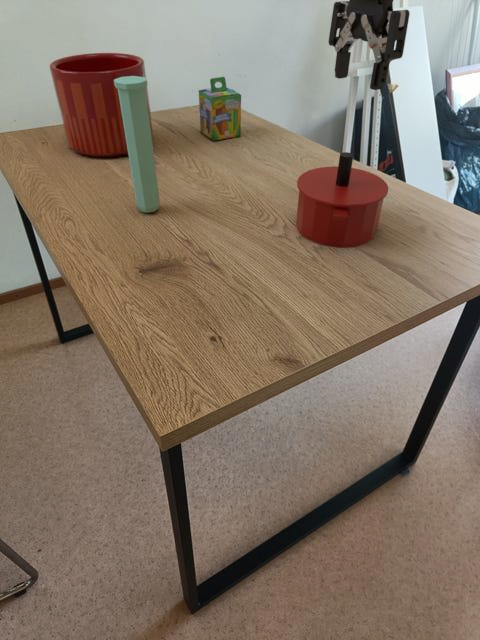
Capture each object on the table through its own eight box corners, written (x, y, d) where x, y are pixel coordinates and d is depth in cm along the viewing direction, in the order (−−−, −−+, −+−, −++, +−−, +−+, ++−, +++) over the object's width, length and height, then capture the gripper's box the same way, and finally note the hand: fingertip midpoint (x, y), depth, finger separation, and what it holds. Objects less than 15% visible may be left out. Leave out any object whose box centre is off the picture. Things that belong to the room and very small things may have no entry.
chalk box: (213, 142, 127) (211, 84, 117) (199, 132, 133) (196, 76, 123) (242, 136, 130) (242, 80, 120) (227, 127, 136) (226, 72, 126)
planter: (135, 125, 137) (123, 49, 124) (168, 148, 123) (159, 65, 110) (59, 139, 128) (38, 58, 115) (84, 166, 113) (64, 77, 100)
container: (168, 211, 95) (153, 80, 79) (144, 219, 92) (124, 86, 76) (153, 201, 99) (135, 74, 82) (129, 209, 96) (106, 79, 79)
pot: (373, 206, 97) (381, 167, 92) (378, 258, 81) (388, 216, 76) (300, 200, 99) (304, 162, 94) (291, 250, 83) (295, 208, 78)
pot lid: (384, 174, 90) (391, 141, 86) (390, 214, 78) (399, 177, 73) (300, 168, 92) (303, 136, 88) (292, 206, 80) (295, 169, 76)
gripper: (436, -44, 59) (407, 90, 70) (363, -47, 69) (347, 71, 79) (394, -43, 57) (370, 96, 67) (324, -47, 66) (312, 76, 77)
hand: (357, 83), depth 73 cm, fingers open, 8 cm apart
